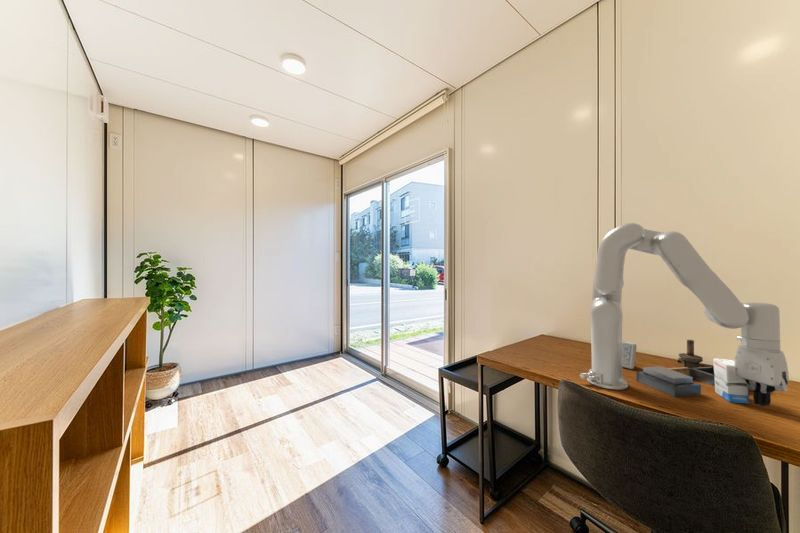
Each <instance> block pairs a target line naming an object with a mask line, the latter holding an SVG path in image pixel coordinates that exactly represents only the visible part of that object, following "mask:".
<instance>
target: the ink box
mask: <svg viewBox="0 0 800 533" xmlns="http://www.w3.org/2000/svg"><path fill="white" fill-rule="evenodd" d="M734 365H735V360H733V359H726V358H713V367H714V378H715V386H714V390H715V392H714V393H716V394H718V395H719V396H720V397H722V398H723V399H725V400H726V401H728V402H729V403H736V404H746V405H748V404H750V401H749V398H750V397H749V391H748V386H747V382H746V379H744V378H741V377H739V376H737V375H736V374H735V366H734Z"/></svg>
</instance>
